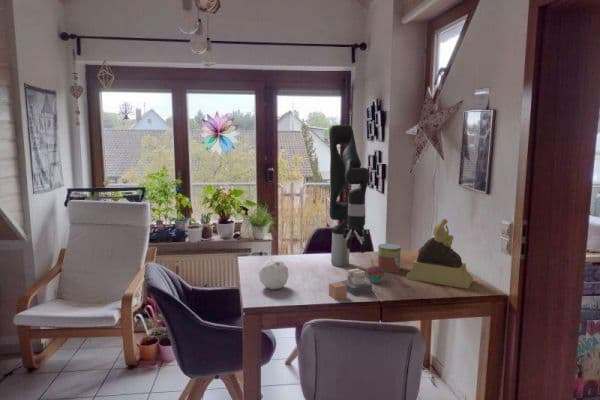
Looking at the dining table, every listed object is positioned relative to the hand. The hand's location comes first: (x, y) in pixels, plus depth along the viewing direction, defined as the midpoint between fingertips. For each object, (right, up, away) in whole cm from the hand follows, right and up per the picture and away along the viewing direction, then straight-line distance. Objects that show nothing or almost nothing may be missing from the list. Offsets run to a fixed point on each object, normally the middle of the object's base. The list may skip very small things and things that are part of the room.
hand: (355, 250), depth 191 cm
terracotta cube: (-8, -19, -5) cm, 22 cm away
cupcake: (+11, -16, +14) cm, 24 cm away
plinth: (+1, -18, +4) cm, 18 cm away
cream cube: (0, -15, +3) cm, 15 cm away
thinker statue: (+42, -16, +17) cm, 48 cm away
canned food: (+21, -14, +34) cm, 42 cm away
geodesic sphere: (-36, -18, +6) cm, 41 cm away
